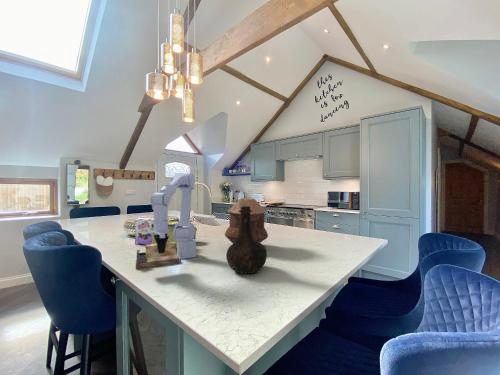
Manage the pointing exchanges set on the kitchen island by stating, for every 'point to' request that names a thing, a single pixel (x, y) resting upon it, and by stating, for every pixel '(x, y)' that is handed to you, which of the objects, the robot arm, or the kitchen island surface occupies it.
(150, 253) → the oak rail
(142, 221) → the candy box
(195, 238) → the food container
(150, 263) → the walnut base board
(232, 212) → the pottery vessel
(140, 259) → the cup bracket
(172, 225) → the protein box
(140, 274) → the kitchen island surface
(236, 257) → the dark brown ceramic vase
